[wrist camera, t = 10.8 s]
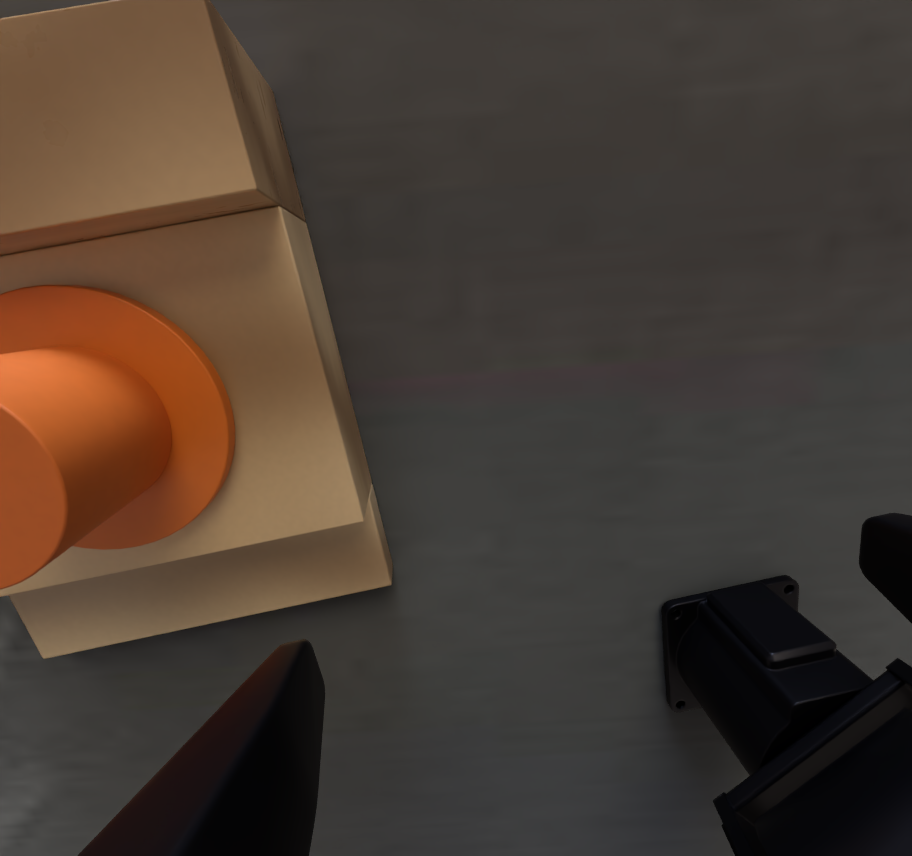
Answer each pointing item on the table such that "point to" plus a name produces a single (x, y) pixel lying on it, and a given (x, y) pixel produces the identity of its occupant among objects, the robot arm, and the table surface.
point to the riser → (186, 308)
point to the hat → (101, 426)
